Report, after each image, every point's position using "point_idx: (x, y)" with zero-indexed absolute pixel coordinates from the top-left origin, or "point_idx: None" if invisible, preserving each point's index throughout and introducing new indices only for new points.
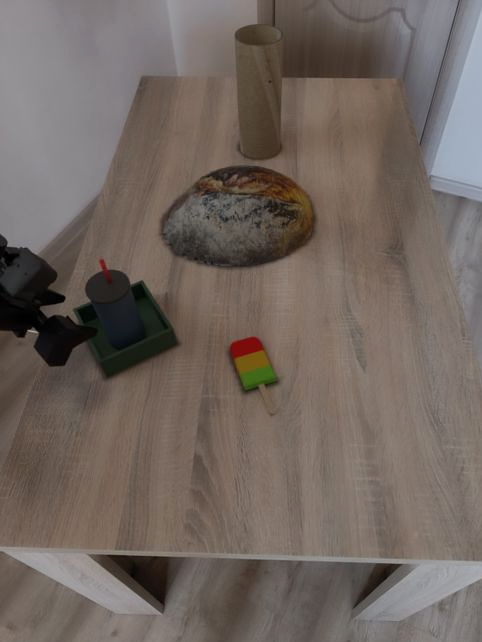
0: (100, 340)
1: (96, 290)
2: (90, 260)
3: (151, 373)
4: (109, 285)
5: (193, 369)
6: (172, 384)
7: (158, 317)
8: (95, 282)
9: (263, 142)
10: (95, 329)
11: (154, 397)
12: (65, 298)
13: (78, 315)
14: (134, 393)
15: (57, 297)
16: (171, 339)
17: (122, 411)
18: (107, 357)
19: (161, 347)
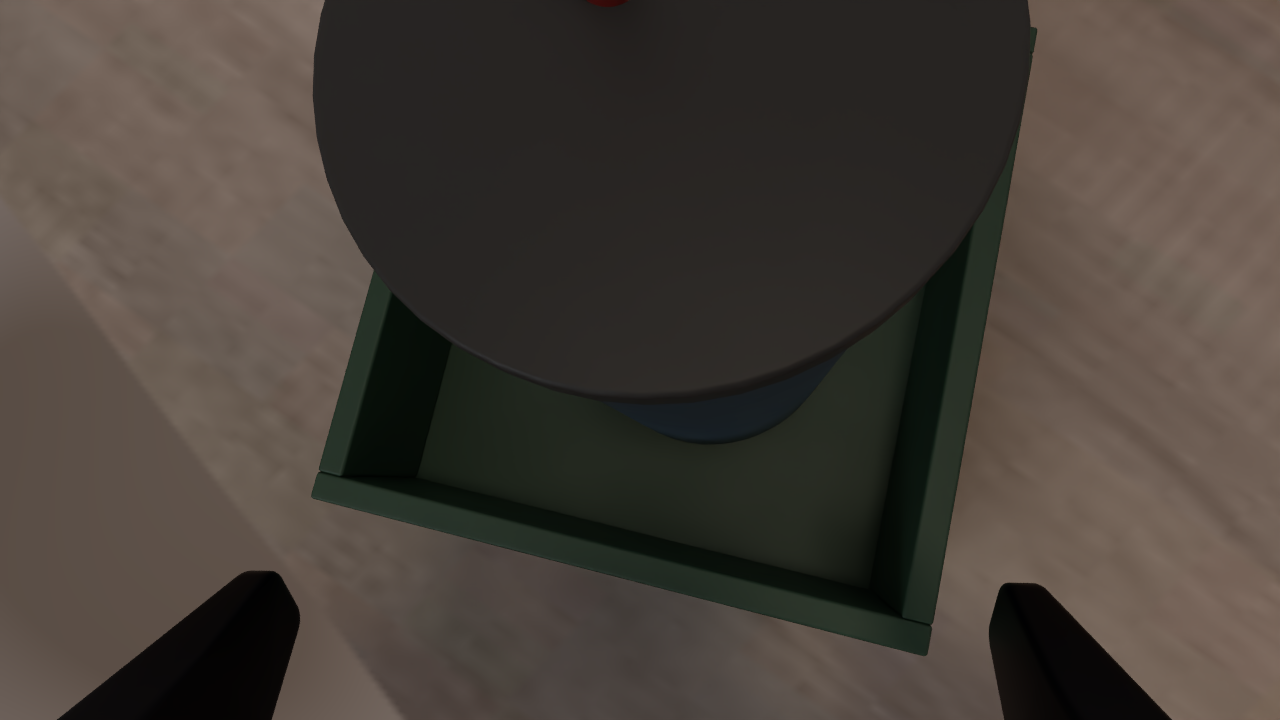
0: (609, 475)
1: (617, 221)
2: (33, 164)
3: (1061, 378)
4: (673, 15)
5: (1224, 159)
6: (1236, 327)
7: None
8: (462, 146)
9: None
10: (1082, 629)
11: (1249, 476)
12: (280, 582)
13: (396, 499)
14: (1126, 555)
15: (219, 686)
16: None
17: (1203, 703)
18: (923, 572)
19: None
